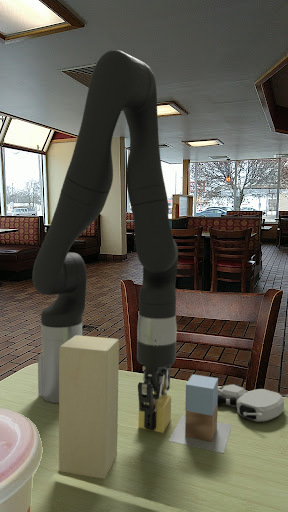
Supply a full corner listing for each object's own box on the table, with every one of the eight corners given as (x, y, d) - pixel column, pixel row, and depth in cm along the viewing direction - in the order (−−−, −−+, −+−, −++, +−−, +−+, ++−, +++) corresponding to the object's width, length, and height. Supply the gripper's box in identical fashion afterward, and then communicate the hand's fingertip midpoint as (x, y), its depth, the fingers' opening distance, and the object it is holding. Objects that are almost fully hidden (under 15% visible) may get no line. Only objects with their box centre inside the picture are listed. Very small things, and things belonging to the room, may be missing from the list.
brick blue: (185, 410, 69) (185, 384, 69) (191, 398, 74) (192, 374, 74) (212, 415, 68) (213, 388, 67) (217, 403, 72) (218, 378, 72)
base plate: (168, 444, 68) (168, 440, 68) (182, 418, 78) (182, 415, 78) (223, 457, 65) (223, 453, 65) (231, 428, 74) (231, 424, 74)
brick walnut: (185, 436, 70) (185, 410, 69) (191, 423, 74) (192, 398, 74) (211, 442, 68) (212, 415, 68) (216, 428, 73) (217, 403, 72)
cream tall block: (119, 455, 65) (120, 337, 63) (106, 483, 58) (106, 351, 56) (76, 448, 67) (76, 333, 65) (58, 475, 60) (57, 346, 58)
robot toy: (201, 412, 83) (264, 435, 72) (200, 391, 83) (263, 411, 72) (232, 395, 91) (293, 413, 80) (232, 376, 91) (292, 392, 80)
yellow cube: (138, 427, 73) (138, 402, 72) (147, 415, 77) (147, 391, 77) (163, 433, 71) (163, 407, 70) (170, 420, 76) (171, 396, 75)
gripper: (164, 351, 64) (162, 446, 66) (184, 329, 78) (182, 408, 79) (124, 346, 67) (123, 436, 69) (150, 325, 80) (149, 402, 82)
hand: (154, 421), depth 74 cm, fingers closed on yellow cube, 5 cm apart
